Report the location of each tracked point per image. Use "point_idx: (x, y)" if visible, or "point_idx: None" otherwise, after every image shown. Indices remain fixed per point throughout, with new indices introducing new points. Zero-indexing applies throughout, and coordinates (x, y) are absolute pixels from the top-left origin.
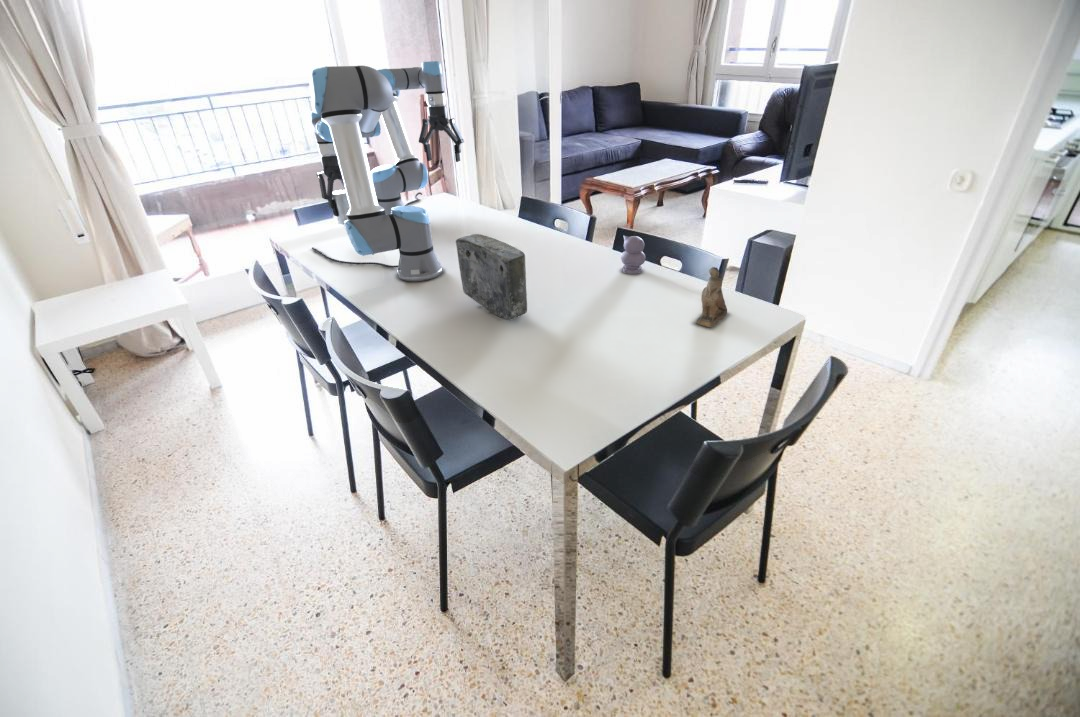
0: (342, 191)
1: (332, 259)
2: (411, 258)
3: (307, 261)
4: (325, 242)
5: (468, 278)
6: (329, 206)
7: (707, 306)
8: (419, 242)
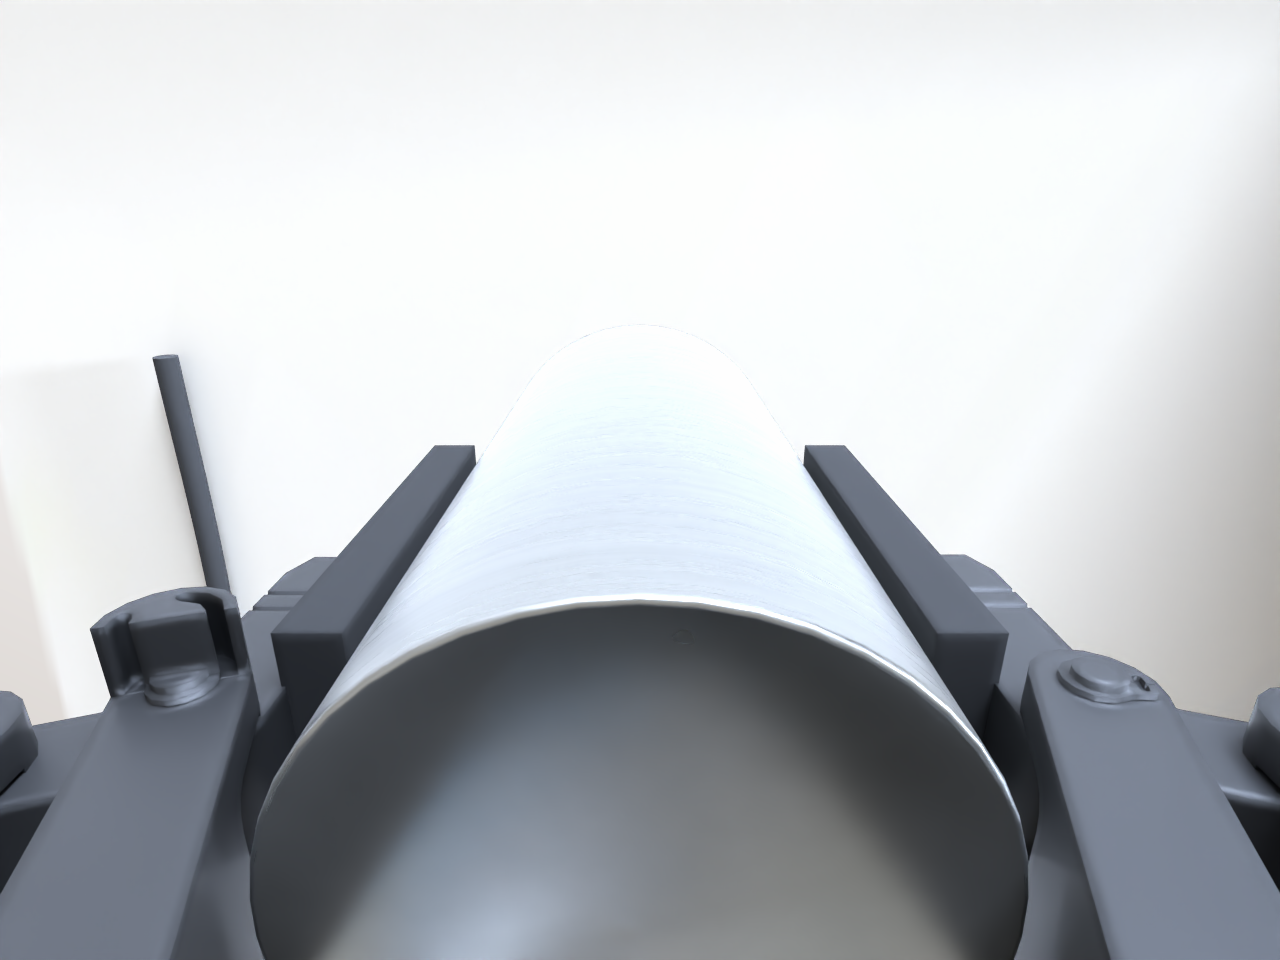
0: (802, 953)
1: None
2: None
3: (69, 660)
4: (371, 182)
5: None
6: (284, 575)
7: None
8: None
